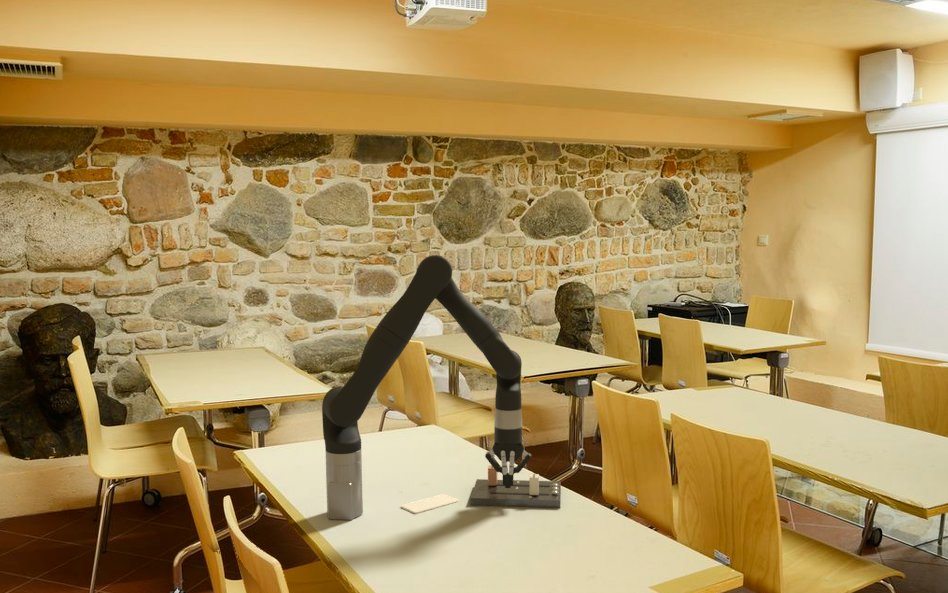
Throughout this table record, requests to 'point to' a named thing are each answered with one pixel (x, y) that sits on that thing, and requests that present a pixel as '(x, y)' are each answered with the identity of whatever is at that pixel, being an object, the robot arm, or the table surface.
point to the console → (516, 494)
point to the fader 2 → (534, 484)
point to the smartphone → (429, 503)
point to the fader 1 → (492, 476)
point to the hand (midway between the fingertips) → (508, 487)
